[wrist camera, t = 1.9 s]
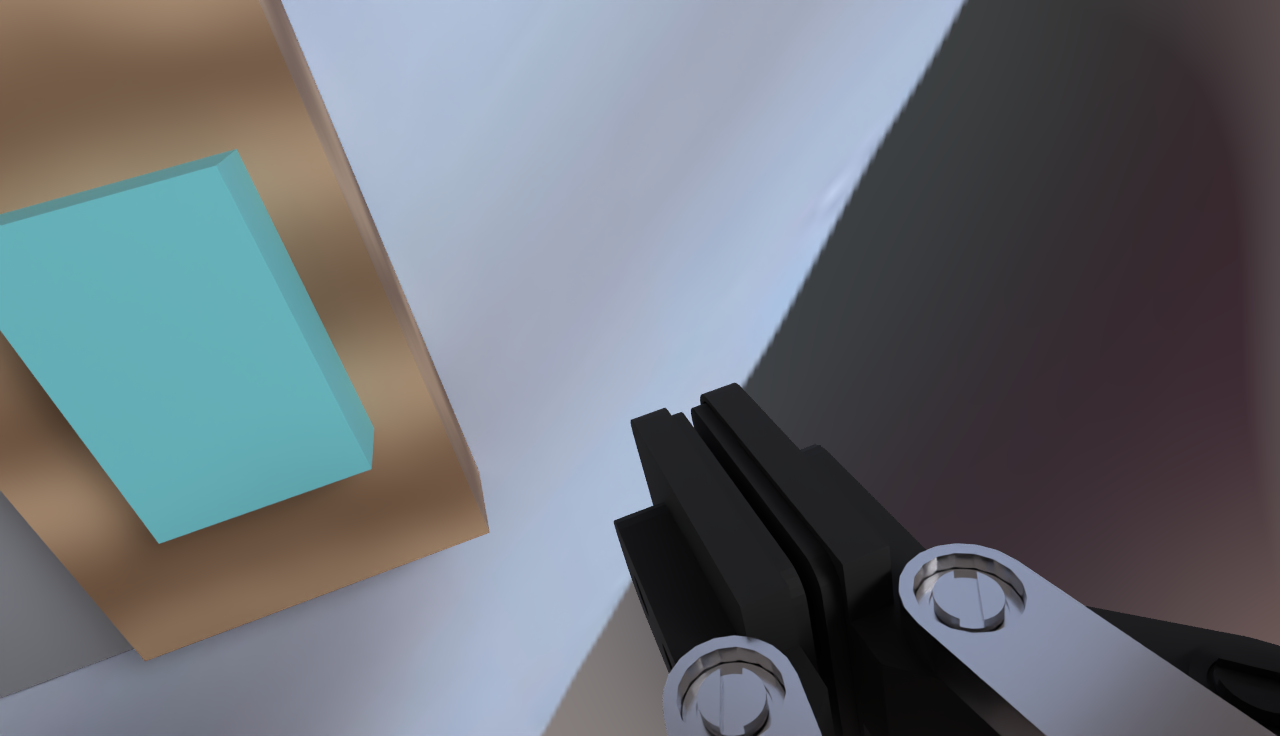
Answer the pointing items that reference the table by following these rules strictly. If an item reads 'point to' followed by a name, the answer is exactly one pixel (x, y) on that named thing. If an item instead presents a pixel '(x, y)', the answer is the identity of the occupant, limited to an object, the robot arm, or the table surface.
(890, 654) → the robot arm
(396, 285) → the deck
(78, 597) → the mat
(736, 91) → the table surface
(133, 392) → the turquoise foam pad
